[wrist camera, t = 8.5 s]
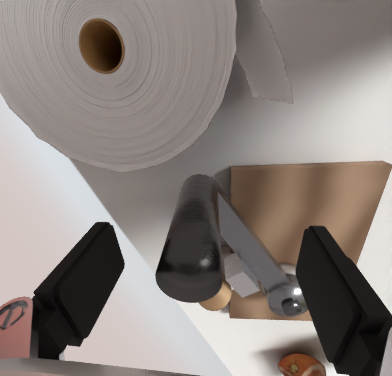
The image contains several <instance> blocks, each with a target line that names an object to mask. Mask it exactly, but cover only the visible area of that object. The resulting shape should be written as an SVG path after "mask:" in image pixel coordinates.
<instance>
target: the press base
mask: <svg viewBox="0 0 392 376" xmlns="http://www.w3.org/2000/svg"><path fill="white" fill-rule="evenodd" d="M391 169H392V165H391V164H389V163H386V162H384V161H365V162H337V163H309V164H281V165H253V166H230V201H231V203H232V204H233V205H234V206H235V208H236V209H237V210H238V212H239V213H240V214H241V216H242V217H243V218H244V219H245V221H246V222H247V223H248V225H249V226H250V227H251V228H252V230H253V231H254V232H255V234H256V235H257V236H258V238H259V239H260V240H261V241H262V243H263V244H264V245H265V247H266V248H267V249H268V251H269V252H270V253H271V254H272V256H273V257H274V258H275V260H276V261H277V262H278V264H279V265H280V266H281V267H282V269H283V270H284V271H285V273H288V274H294V275H296V274H295V270H296V265H297V261H298V256H299V252H300V247H301V243H302V238H303V234H304V230H305V229H308V228H309V226H325V227H326V228H327V230H328V231H329V232H330V234H331V235H332V237H333V238H334V239H335V241H336V242H337V244H338V245H339V247H340V248H341V249H342V251H343V252H344V254H345V255H346V256H347V257H349V258H350V259H351V260H352V261H353V262H354V264H355V265H356V264H357V262H358V259H359V256H360V254H361V251H362V248H363V245H364V243H365V240H366V237H367V234H368V232H369V229H370V226H371V223H372V221H373V218H374V215H375V213H376V210H377V207H378V204H379V202H380V199H381V196H382V193H383V191H384V188H385V185H386V182H387V180H388V177H389V174H390V172H391ZM233 253H235V252H234V251H233V250H232V248H231V247H230V246H221V259H222V277H223V283H222V287H221V289H220V291H219V292H218V293H217V294H216V295H215V296H214V297H212V298H211V299H209V300H206V301H202V302H199V304H200V305H201V306H202V307H203V308H205V309H207V310H210V311H218V310H221V309H222V308H224V307H225V306H226V305H227V304H228V302H229V315H230V318H238V319H270V320H301V321H312V318H311V316H310V313H309V310H307V311H306V312H305V313H303V314H301V315H298V316H293V317H283V316H279V315H277V314H275V313H273V312H272V311H271V310H270V308H269V305H268V301H267V298H266V294H265V290H264V286H263V285H262V284H261V282H260V281H259V280H258V279H257V280H258V284H259V288H260V291H258V292H255V293H253V294H250V295H248V296H245V297H243V298H242V297H241V296H240V295H239V294H238V293H237V292H236V291H235V290H234V288H233V287H232V286H231V285H230V284H229V283H228V282H227V281H226V280H225V266H224V258H225V257H227V256H229V255H231V254H233Z"/></svg>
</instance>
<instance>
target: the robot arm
mask: <svg viewBox="0 0 392 376" xmlns="http://www.w3.org/2000/svg"><path fill="white" fill-rule="evenodd" d="M124 264H125V263H124V259H123V256H122V253H121V250H120V247H119V244H118V240H117V237H116V234H115V231H114V228H113V226H112V225H110V223H109V222H97V223H95V224H94V225H93V226H92V227H91V228H90V230H89V231H88V232H87V233H86V234H85V235H84V236H83V237H82V239H81V240H80V241H79V242H78V243H77V244H76V245H75V246H74V248H73V249H72V250H71V251H70V252H69V253H68V254H67V255H66V256H65V258H64V259H63V260H62V261H61V262H60V263H59V264H58V265H57V266H56V268H55V269H54V270H53V271H52V272H51V273H50V274H49V276H48V277H47V278H46V279H45V280H44V281H43V282H42V283H41V284H40V286H39V287H38V288H37V289H36V290H35V291H34V294H35V296H34V297H33V298H32V299H30V298H29V297H19V298H16V299H13V300H11V301H9V302H7V303H5V304H3V305H2V306H1V307H0V376H198V375H189V374H181V373H172V372H164V371H155V370H146V369H137V368H128V367H119V366H110V365H101V364H92V363H83V362H74V361H64V350H65V348H66V346H67V344H68V345H69V346H79V347H80V346H81V344H82V342H83V340H84V338H87V337H88V336H89V334H90V332H91V330H92V328H93V327H94V325H95V323H96V321H97V319H98V317H99V315H100V313H101V311H102V309H103V307H104V306H105V304H106V302H107V300H108V298H109V296H110V294H111V292H112V290H113V288H114V286H115V284H116V283H117V281H118V279H119V277H120V275H121V273H122V271H123V269H124ZM295 274H296V278H297V281H298V284H299V286H300V289H301V292H302V294H303V297H304V300H305V302H306V305H307V308H308V310H309V313H310V316H311V318H312V321H313V324H314V326H315V329H316V331H317V334H318V337H319V339H320V342H321V345H322V347H323V350H324V353H325V355H326V358H327V360H328V361H329V362H330V363H333V365H334V367H335V370H336V372H337V374H346V375H349V376H392V315H391V313H390V312H389V310H388V309H387V308H386V306H385V305H384V304H383V302H382V301H381V299H380V298H379V297H378V295H377V294H376V293H375V291H374V290H373V288H372V287H371V286H370V284H369V283H368V282H367V280H366V279H365V277H364V276H363V275H362V273H361V272H360V270H359V269H358V268H357V266H356V265H355V264H354V262H353V261H352V260H351V259H350V258H349V257H347V256H346V255H345V254H344V252H343V251H342V249H341V248H340V247H339V245H338V244H337V242H336V241H335V239H334V238H333V237H332V235H331V234H330V232H329V231H328V230H327V228H326V227H325V226H309V228H308V229H305V230H304V234H303V238H302V243H301V247H300V252H299V256H298V261H297V265H296V270H295Z"/></svg>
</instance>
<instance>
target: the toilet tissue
mask: <svg viewBox="0 0 392 376" xmlns="http://www.w3.org/2000/svg"><path fill="white" fill-rule="evenodd" d="M99 18H100V19H99ZM104 19H105V20H104ZM106 20H107V21H106ZM108 21H109V22H111V23H112V24H113V25H112V24H111V23H109V22H108ZM235 54H236V56H237V58H238V60H239V62H240V64H241V66H242V68H243V69H244V71H245V74H246V76H247V80H248V83H249V86H250V89H251V92H252V97H253V98H254V97H255V98H261V99H267V100H275V101H281V102H287V103H290V104H293V98H292V91H291V87H290V83H289V80H288V77H287V73H286V69H285V65H284V60H283V57H282V54H281V51H280V48H279V46H278V44H277V41H276V39H275V37H274V34H273V31H272V28H271V25H270V23H269V21H268V20H267V18H266V16H265V15H264V13H263V11H262V8H261V5H260V1H259V0H0V92H1V94H2V96H3V97H4V99H5V101H6V103H7V104H8V106H9V108H10V109H11V110H12V111H13V112H14V113H15V114H16V115H17V116H18V117H19V118H20V119H21V120H23V121H24V123H25V124H27V125H28V126H29V127H30V129H31V130H32V131H33V132H34V134H35V135H36V136H37V137H38V138H39V139H41V140H43V141H45V142H47V143H49V144H50V145H51V146H53V147H54V148H55V149H57V150H58V151H59V152H61V153H62V154H64V155H65V156H66V157H68V158H71V159H74V160H77V161H80V162H83V163H86V164H89V165H92V166H95V167H98V168H104V169H109V170H112V171H115V172H129V171H135V170H140V169H144V168H148V167H152V166H157V165H159V164H161V163H164V162H166V161H168V160H170V159H172V158H174V157H176V156H177V155H178V154H180V153H181V152H182V151H184V150H185V149H187V148H188V147H189V146H191V145H192V144H194V142H195V141H196V140H197V139H198V137H199V136H200V135H201V134H202V133H203V132H204V131H205V130H206V129H207V128H208V126H209V124H210V122H211V120H212V118H213V116H214V114H215V113H216V111H217V110H218V108H219V107H220V105H221V103H222V100H223V97H224V94H225V91H226V87H227V84H228V82H229V78H230V75H231V71H232V67H233V59H234V56H235Z"/></svg>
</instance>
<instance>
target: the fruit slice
mask: <svg viewBox="0 0 392 376" xmlns="http://www.w3.org/2000/svg"><path fill="white" fill-rule="evenodd" d="M278 368H279V370H280V371H281V372H282V374H283V375H284V376H326V370H325V367H324V365H322V364H321V363H320V362H319V361H318V360H316V359H315V358H313V357H311V356H309V355H305V354H300V353H293V354H290V355H287V356H285V357H284V358H283V359H282V360H281V361H280V362H279V364H278Z"/></svg>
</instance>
